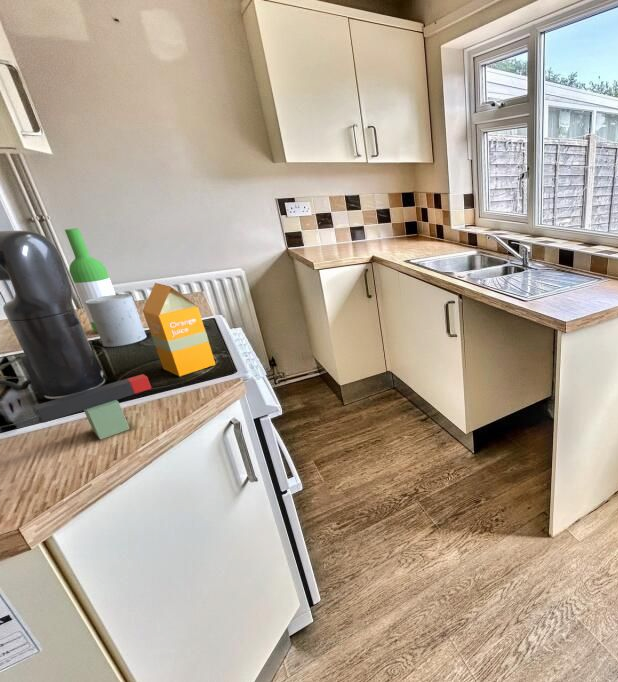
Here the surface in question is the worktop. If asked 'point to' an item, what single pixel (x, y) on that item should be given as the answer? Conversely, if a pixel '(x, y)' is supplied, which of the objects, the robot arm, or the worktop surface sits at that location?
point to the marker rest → (107, 419)
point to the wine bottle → (87, 273)
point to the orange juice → (177, 331)
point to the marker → (92, 398)
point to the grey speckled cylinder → (116, 320)
